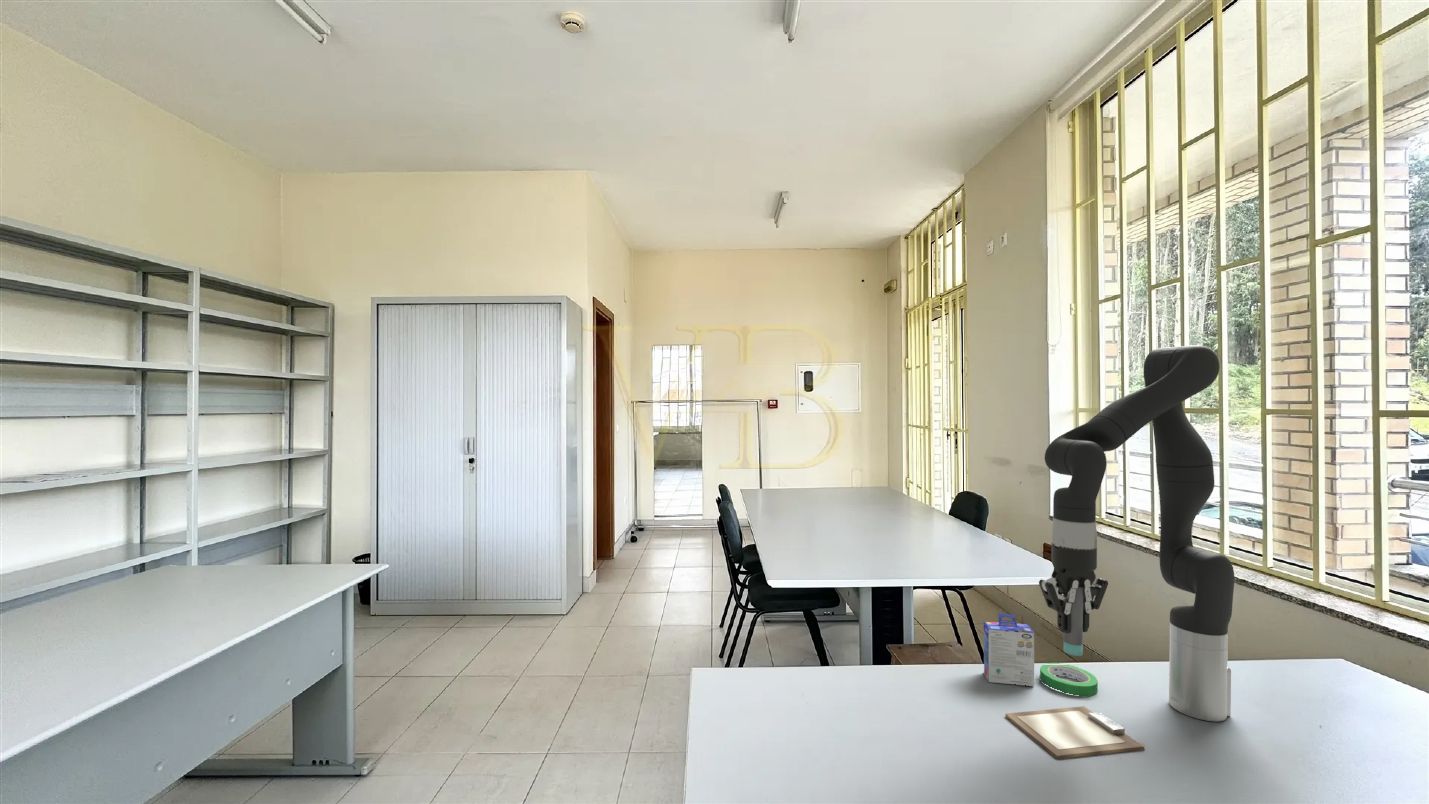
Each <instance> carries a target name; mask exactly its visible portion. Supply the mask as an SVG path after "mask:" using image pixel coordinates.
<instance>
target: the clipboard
mask: <svg viewBox="0 0 1429 804" xmlns="http://www.w3.org/2000/svg"><path fill="white" fill-rule="evenodd" d="M1004 715H1005V716H1006V717H1007V719H1008V720H1009V719H1010V720H1009V721H1010V722H1011V723H1012V724H1014V725H1015V726H1016V727H1017V728H1018V729H1020V730H1021V731H1022V732H1024V733H1025V735H1027V736H1028V737H1030V738H1031V739H1032V740H1033V741H1034V742H1036V743H1037V744H1038V745H1040V746H1041V747H1042V748H1043V749H1044V750H1045V751H1047V753H1049V754H1051V756H1053V757H1054V758H1055V759H1056V760H1062V759H1070V757H1072V758H1080V757H1089V756H1090V757H1091V756H1097V755H1098V756H1099V755H1107V754H1116V753H1124V752H1125V753H1126V752H1133V751H1143V750H1145V746H1144V744H1142V743H1140V742H1139V741H1137V740H1136V739H1134V738H1133V737H1131V736H1129V734H1126V733H1125V732H1126V731H1125V730H1126V728H1125V727H1124V726H1121V725H1120V724H1118V723H1117V722H1115V721H1114V720H1112V719H1111V718H1109V717H1107V716H1106V715H1104V713H1101V711H1094V712H1093V711H1092V710H1090V709H1089V708H1087V707H1086V706H1084V705H1083V706H1073V707H1072V706H1071V707H1064V708H1063V707H1061V708H1051V709H1042V710H1041V709H1038V710H1029V711H1019V712H1010V713H1005V714H1004ZM1006 717H1005V718H1006Z"/></svg>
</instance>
